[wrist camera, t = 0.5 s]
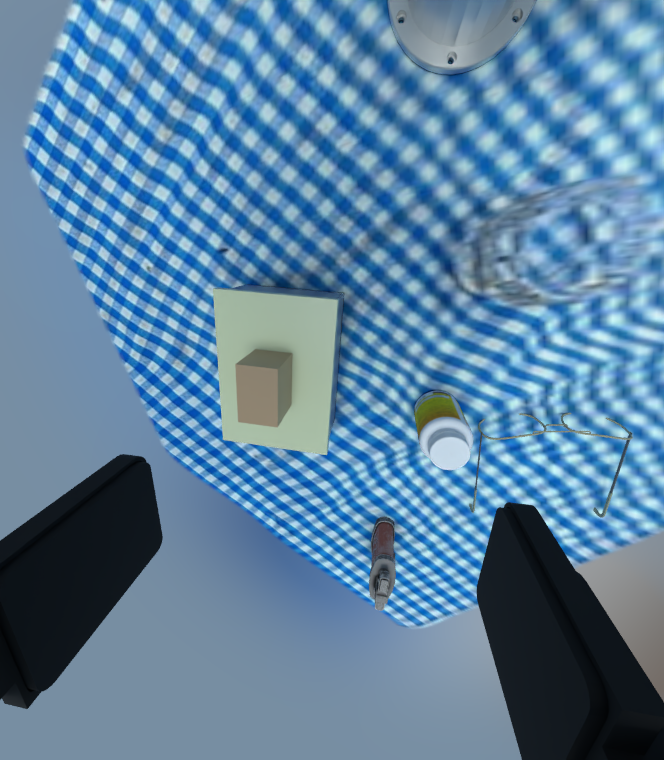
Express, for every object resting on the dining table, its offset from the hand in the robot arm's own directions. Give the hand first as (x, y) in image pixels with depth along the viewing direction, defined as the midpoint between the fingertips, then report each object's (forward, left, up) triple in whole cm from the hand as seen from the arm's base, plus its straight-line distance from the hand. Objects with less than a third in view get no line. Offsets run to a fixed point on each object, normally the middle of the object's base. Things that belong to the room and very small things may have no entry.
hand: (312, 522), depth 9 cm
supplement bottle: (+12, +10, -33) cm, 36 cm away
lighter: (+35, +6, -33) cm, 48 cm away
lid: (+7, -9, -27) cm, 30 cm away
